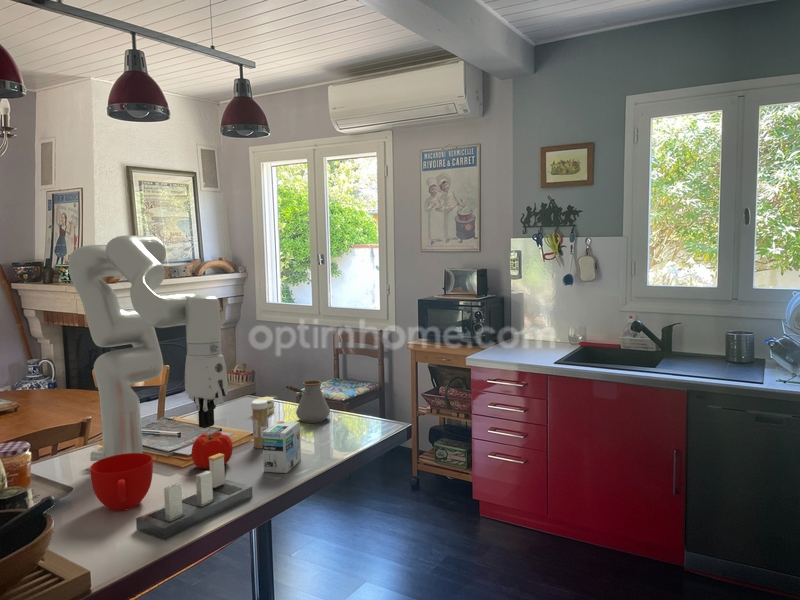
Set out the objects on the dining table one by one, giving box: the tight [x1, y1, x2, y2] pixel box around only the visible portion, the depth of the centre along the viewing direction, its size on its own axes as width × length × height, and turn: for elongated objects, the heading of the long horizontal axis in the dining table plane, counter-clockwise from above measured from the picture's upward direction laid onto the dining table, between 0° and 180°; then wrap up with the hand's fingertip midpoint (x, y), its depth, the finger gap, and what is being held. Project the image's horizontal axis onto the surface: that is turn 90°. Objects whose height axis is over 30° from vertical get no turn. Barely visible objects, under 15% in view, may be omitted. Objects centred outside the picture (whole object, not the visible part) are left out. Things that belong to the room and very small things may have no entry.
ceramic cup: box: [89, 452, 154, 512], centre depth 134 cm, size 13×17×10 cm
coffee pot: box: [282, 380, 331, 424], centre depth 197 cm, size 21×12×15 cm, turn 157°
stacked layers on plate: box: [252, 396, 276, 416], centre depth 211 cm, size 10×9×6 cm
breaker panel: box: [135, 470, 253, 541], centre depth 131 cm, size 24×9×9 cm, turn 148°
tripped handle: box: [209, 453, 226, 487], centre depth 139 cm, size 3×2×7 cm, turn 148°
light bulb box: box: [262, 420, 302, 474], centre depth 159 cm, size 11×7×11 cm, turn 168°
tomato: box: [191, 431, 234, 470], centre depth 160 cm, size 11×11×9 cm
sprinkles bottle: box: [251, 400, 269, 449], centre depth 175 cm, size 5×5×14 cm
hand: (206, 426), depth 140 cm, fingers closed
